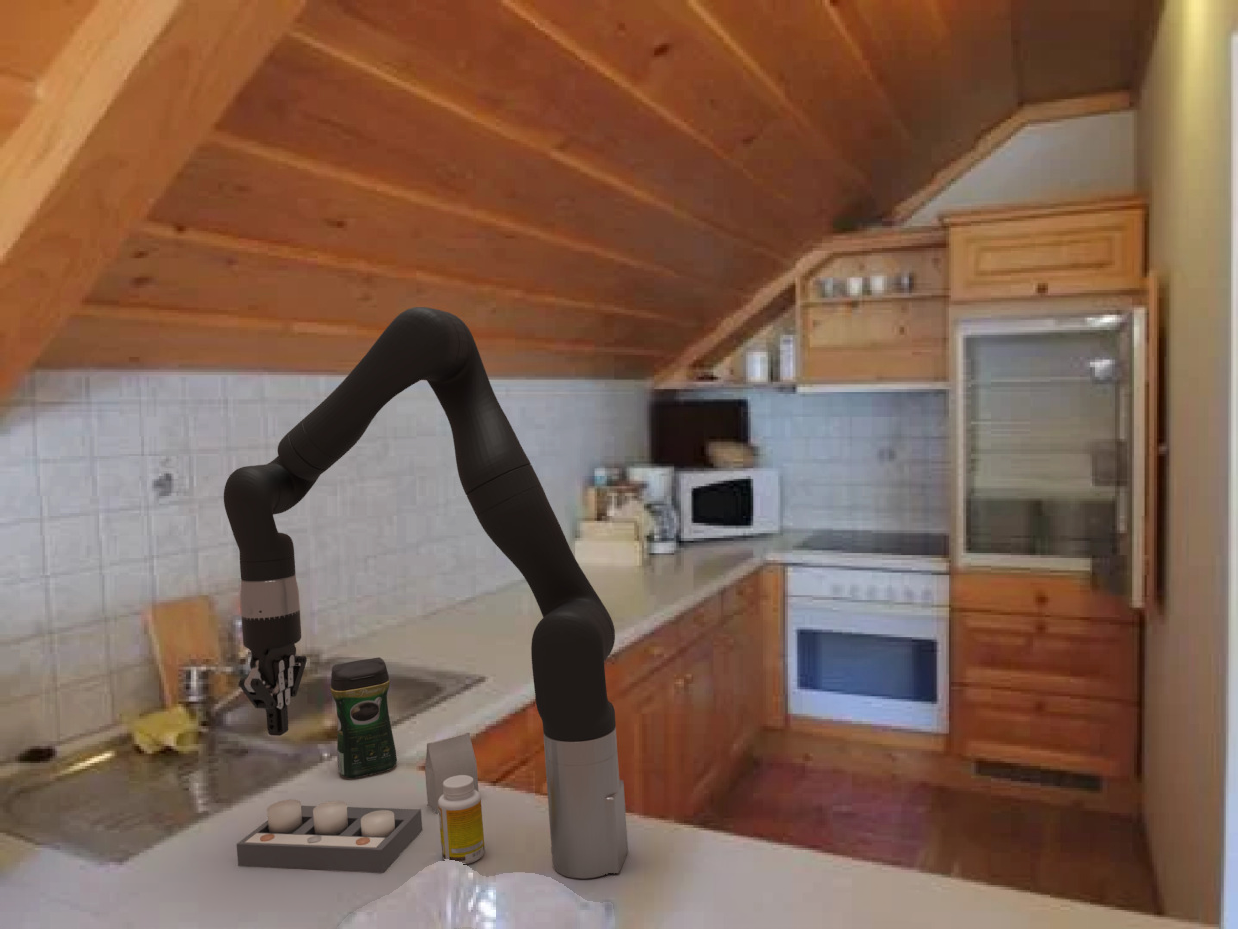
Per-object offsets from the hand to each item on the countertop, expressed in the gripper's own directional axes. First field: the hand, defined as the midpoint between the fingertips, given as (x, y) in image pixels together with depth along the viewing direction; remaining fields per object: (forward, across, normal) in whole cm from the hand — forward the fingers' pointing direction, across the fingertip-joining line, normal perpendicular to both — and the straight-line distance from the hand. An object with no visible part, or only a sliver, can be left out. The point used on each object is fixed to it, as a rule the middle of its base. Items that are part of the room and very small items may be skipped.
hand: (278, 733), depth 125 cm
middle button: (+13, 0, -7) cm, 15 cm away
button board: (+16, 0, -7) cm, 17 cm away
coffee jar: (+16, +27, +2) cm, 32 cm away
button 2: (+14, 0, -14) cm, 20 cm away
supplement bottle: (+16, -1, -27) cm, 31 cm away
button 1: (+13, 0, 0) cm, 13 cm away
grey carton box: (+16, +15, -19) cm, 29 cm away
